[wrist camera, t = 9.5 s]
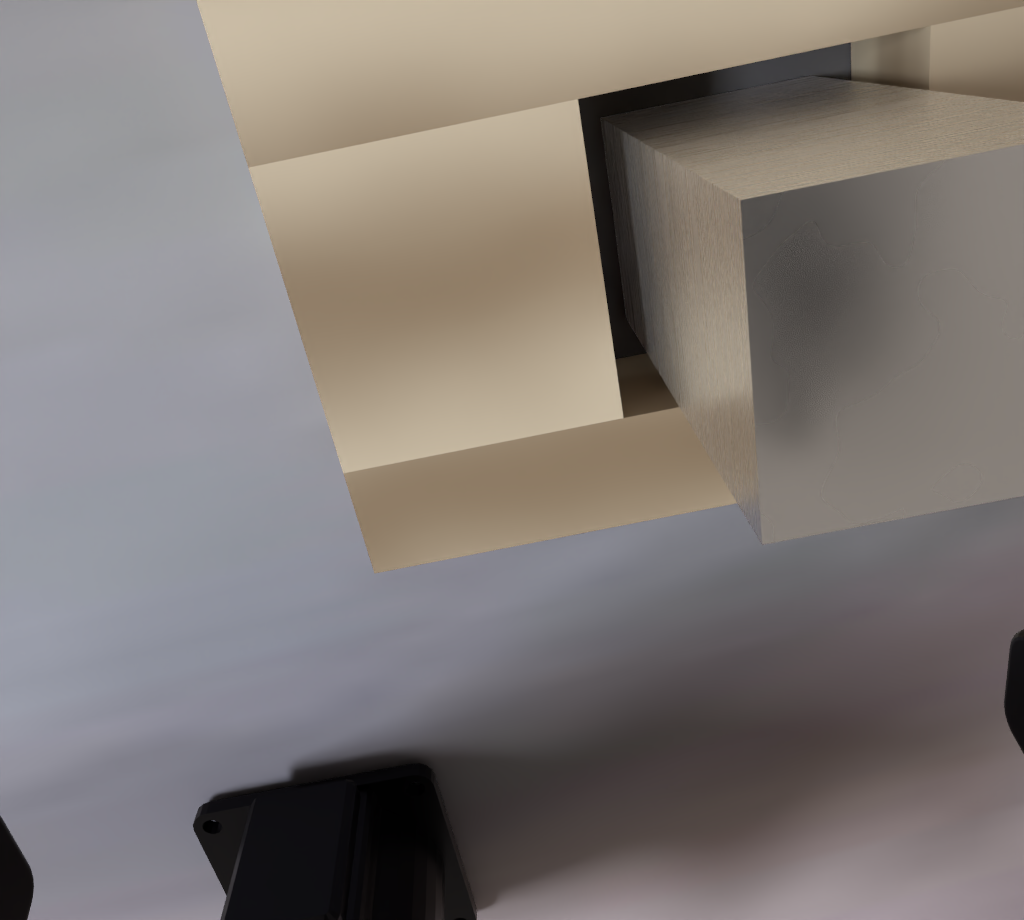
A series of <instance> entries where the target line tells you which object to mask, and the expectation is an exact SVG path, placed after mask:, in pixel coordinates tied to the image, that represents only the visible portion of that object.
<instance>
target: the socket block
mask: <svg viewBox="0 0 1024 920" xmlns="http://www.w3.org/2000/svg"><path fill="white" fill-rule="evenodd" d="M197 4H198V7H199V10H200V13H201V16H202V20H203V23H204V26H205V29H206V33H207V36H208V39H209V42H210V45H211V49H212V52H213V55H214V58H215V61H216V65H217V68H218V71H219V74H220V78H221V81H222V84H223V87H224V90H225V94H226V97H227V100H228V103H229V107H230V110H231V113H232V116H233V119H234V123H235V126H236V129H237V132H238V135H239V139H240V142H241V145H242V148H243V152H244V155H245V158H246V161H247V164H248V168H249V171H250V174H251V177H252V181H253V184H254V187H255V190H256V193H257V197H258V200H259V203H260V206H261V209H262V213H263V216H264V219H265V222H266V226H267V229H268V232H269V235H270V238H271V242H272V245H273V248H274V251H275V255H276V258H277V261H278V264H279V267H280V271H281V274H282V277H283V280H284V283H285V287H286V290H287V293H288V296H289V300H290V303H291V306H292V309H293V312H294V316H295V319H296V322H297V325H298V329H299V332H300V335H301V338H302V341H303V345H304V348H305V351H306V354H307V357H308V361H309V364H310V367H311V370H312V374H313V377H314V380H315V383H316V386H317V390H318V393H319V396H320V399H321V403H322V406H323V409H324V412H325V415H326V419H327V422H328V425H329V428H330V431H331V435H332V438H333V441H334V444H335V448H336V451H337V454H338V457H339V460H340V464H341V467H342V470H343V473H344V477H345V480H346V483H347V486H348V489H349V493H350V496H351V499H352V502H353V505H354V509H355V512H356V515H357V518H358V522H359V525H360V528H361V531H362V534H363V538H364V541H365V544H366V547H367V551H368V554H369V557H370V560H371V563H372V567H373V570H374V573H379V572H384V571H389V570H395V569H400V568H405V567H410V566H415V565H420V564H426V563H431V562H436V561H441V560H446V559H451V558H457V557H462V556H467V555H472V554H477V553H482V552H487V551H493V550H498V549H503V548H508V547H513V546H518V545H524V544H529V543H534V542H539V541H544V540H549V539H555V538H560V537H565V536H570V535H575V534H580V533H586V532H591V531H596V530H601V529H606V528H611V527H616V526H622V525H627V524H632V523H637V522H642V521H647V520H653V519H658V518H663V517H668V516H673V515H678V514H684V513H689V512H694V511H699V510H704V509H709V508H715V507H720V506H725V505H730V504H735V503H737V502H736V500H735V499H734V497H733V495H732V494H731V492H730V490H729V489H728V487H727V485H726V484H725V482H724V480H723V479H722V477H721V475H720V474H719V472H718V470H717V469H716V467H715V465H714V464H713V462H712V460H711V459H710V457H709V455H708V454H707V452H706V450H705V449H704V447H703V445H702V444H701V442H700V440H699V439H698V437H697V435H696V434H695V432H694V430H693V429H692V427H691V425H690V424H689V422H688V420H687V419H686V417H685V415H684V414H683V412H682V411H681V409H680V407H679V406H678V404H677V402H676V401H675V399H674V397H673V396H672V394H671V392H670V391H669V389H668V387H667V386H666V384H665V382H664V381H663V379H662V377H661V376H660V374H659V372H658V371H657V369H656V367H655V366H654V364H653V362H652V361H651V359H650V357H649V356H648V354H647V353H645V354H640V355H635V356H630V357H625V358H620V359H615V355H614V348H613V341H612V334H611V327H610V320H609V313H608V306H607V299H606V292H605V285H604V278H603V271H602V264H601V257H600V250H599V243H598V236H597V230H596V223H595V216H594V209H593V202H592V195H591V188H590V181H589V174H588V167H587V160H586V153H585V146H584V139H583V132H582V125H581V118H580V111H579V104H578V99H581V98H586V97H590V96H595V95H600V94H605V93H610V92H614V91H619V90H624V89H629V88H634V87H638V86H643V85H648V84H653V83H658V82H662V81H667V80H672V79H677V78H682V77H686V76H691V75H696V74H701V73H706V72H710V71H715V70H720V69H725V68H730V67H734V66H739V65H744V64H749V63H754V62H758V61H763V60H768V59H773V58H778V57H783V56H787V55H792V54H797V53H802V52H807V51H811V50H816V49H821V48H826V47H831V46H835V45H840V44H845V43H850V42H851V81H857V82H865V83H873V84H881V85H889V86H897V87H905V88H914V89H922V90H930V91H938V92H946V93H954V94H962V95H970V96H978V97H986V98H994V99H1002V100H1010V101H1019V102H1024V0H197Z"/></svg>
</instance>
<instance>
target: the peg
mask: <svg viewBox="0 0 1024 920" xmlns="http://www.w3.org/2000/svg"><path fill="white" fill-rule="evenodd" d="M601 126H602V134H603V142H604V149H605V157H606V165H607V173H608V181H609V188H610V196H611V204H612V212H613V220H614V227H615V235H616V243H617V251H618V259H619V266H620V274H621V282H622V290H623V298H624V305H625V313H626V319H627V321H628V322H629V324H630V326H631V327H632V329H633V331H634V332H635V334H636V336H637V337H638V339H639V341H640V342H641V344H642V346H643V347H644V349H645V351H646V352H647V354H648V356H649V357H650V359H651V361H652V362H653V364H654V366H655V367H656V369H657V371H658V372H659V374H660V376H661V377H662V379H663V381H664V382H665V384H666V386H667V387H668V389H669V391H670V392H671V394H672V396H673V397H674V399H675V401H676V402H677V404H678V406H679V407H680V409H681V411H682V412H683V414H684V415H685V417H686V419H687V420H688V422H689V424H690V425H691V427H692V429H693V430H694V432H695V434H696V435H697V437H698V439H699V440H700V442H701V444H702V445H703V447H704V449H705V450H706V452H707V454H708V455H709V457H710V459H711V460H712V462H713V464H714V465H715V467H716V469H717V470H718V472H719V474H720V475H721V477H722V479H723V480H724V482H725V484H726V485H727V487H728V489H729V490H730V492H731V494H732V495H733V497H734V499H735V500H736V502H737V504H738V505H739V507H740V509H741V510H742V512H743V514H744V515H745V517H746V519H747V520H748V522H749V524H750V525H751V527H752V529H753V530H754V532H755V534H756V535H757V537H758V539H759V540H760V542H761V544H762V545H764V544H769V543H775V542H780V541H785V540H791V539H796V538H801V537H807V536H812V535H817V534H823V533H828V532H833V531H839V530H844V529H850V528H855V527H860V526H866V525H871V524H876V523H882V522H887V521H892V520H898V519H903V518H908V517H914V516H919V515H924V514H930V513H935V512H940V511H946V510H951V509H956V508H962V507H967V506H972V505H978V504H983V503H988V502H994V501H999V500H1004V499H1010V498H1015V497H1021V496H1024V102H1019V101H1010V100H1002V99H994V98H986V97H978V96H970V95H962V94H954V93H946V92H938V91H930V90H922V89H914V88H905V87H897V86H889V85H881V84H873V83H865V82H857V81H849V80H841V79H833V78H825V77H817V76H806V77H801V78H796V79H791V80H786V81H781V82H776V83H771V84H766V85H761V86H756V87H751V88H746V89H741V90H736V91H731V92H726V93H721V94H716V95H711V96H706V97H701V98H696V99H691V100H686V101H681V102H676V103H671V104H666V105H661V106H657V107H652V108H647V109H642V110H637V111H632V112H627V113H622V114H617V115H612V116H607V117H602V118H601Z"/></svg>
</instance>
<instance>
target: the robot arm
mask: <svg viewBox="0 0 1024 920" xmlns="http://www.w3.org/2000/svg"><path fill="white" fill-rule="evenodd" d="M1004 708H1005V715H1006V719H1007V722H1008V725H1009V727H1010V730H1011V732H1012V734H1013V736H1014V737H1015V739H1016V741H1017V743H1018V745H1019V746H1020V748H1021V750H1022V752H1023V754H1024V630H1021V631H1019V632H1018V633H1016V634H1015V635H1014V637H1013V639H1012V641H1011V645H1010V652H1009V661H1008V671H1007V680H1006V689H1005V698H1004ZM412 782H419V783H421V784H411V783H412ZM211 820H215V821H218V822H214V821H211ZM193 828H194V831H195V833H196V835H197V837H198V839H199V841H200V843H201V845H202V847H203V849H204V851H205V853H206V855H207V857H208V859H209V861H210V863H211V865H212V867H213V869H214V871H215V873H216V875H217V877H218V879H219V881H220V883H221V885H222V887H223V889H224V891H225V893H226V895H227V897H226V901H225V905H224V909H223V912H222V916H221V920H477V911H476V905H475V902H474V899H473V896H472V892H471V889H470V886H469V883H468V880H467V877H466V873H465V870H464V867H463V864H462V861H461V857H460V854H459V851H458V848H457V845H456V841H455V838H454V835H453V832H452V829H451V825H450V822H449V819H448V816H447V813H446V809H445V806H444V803H443V800H442V797H441V793H440V790H439V787H438V784H437V781H436V777H435V774H434V772H433V771H432V769H430V768H429V767H428V766H426V765H422V764H409V765H404V766H398V767H393V768H388V769H382V770H377V771H372V772H366V773H361V774H356V775H350V776H345V777H340V778H334V779H329V780H324V781H318V782H313V783H308V784H302V785H297V786H291V787H286V788H281V789H275V790H270V791H265V792H259V793H254V794H249V795H243V796H238V797H233V798H227V799H222V800H217V801H211V802H208V803H205V804H203V805H202V806H201V807H199V809H198V812H197V814H196V817H195V820H194V824H193ZM33 889H34V883H33V875H32V871H31V868H30V866H29V864H28V862H27V861H26V859H25V857H24V855H23V854H22V852H21V850H20V848H19V847H18V845H17V843H16V842H15V840H14V838H13V836H12V835H11V833H10V831H9V829H8V828H7V826H6V824H5V823H4V821H3V819H2V817H1V816H0V920H27V918H28V914H29V911H30V907H31V903H32V898H33Z"/></svg>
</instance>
